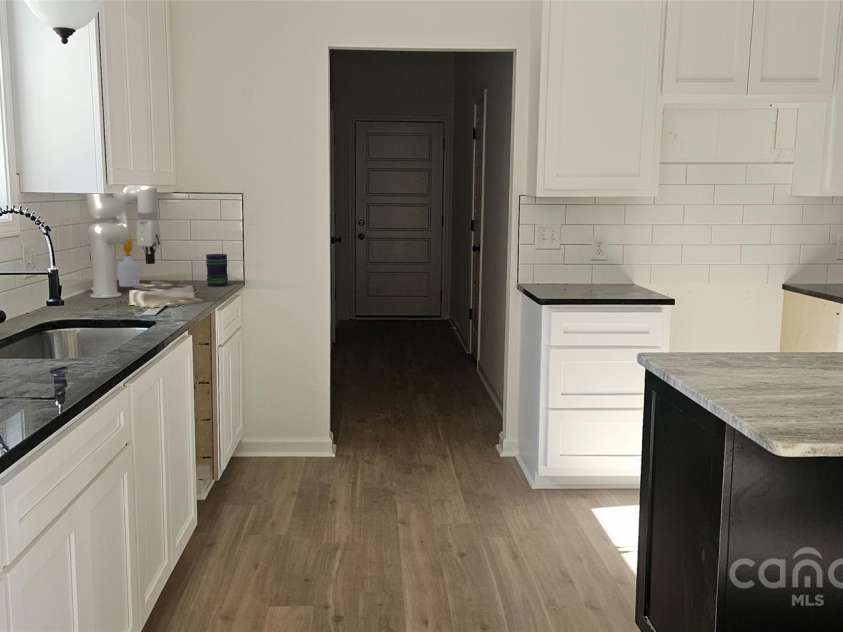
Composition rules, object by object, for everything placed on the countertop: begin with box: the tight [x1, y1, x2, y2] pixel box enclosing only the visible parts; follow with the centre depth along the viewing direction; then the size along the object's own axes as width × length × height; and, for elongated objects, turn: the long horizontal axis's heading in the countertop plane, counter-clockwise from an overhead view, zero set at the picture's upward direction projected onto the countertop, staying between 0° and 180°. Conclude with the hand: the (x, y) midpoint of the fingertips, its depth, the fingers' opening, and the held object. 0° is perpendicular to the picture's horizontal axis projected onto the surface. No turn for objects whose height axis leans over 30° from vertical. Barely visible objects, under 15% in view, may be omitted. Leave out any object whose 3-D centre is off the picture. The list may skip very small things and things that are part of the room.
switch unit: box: [128, 284, 204, 309], centre depth 348 cm, size 15×25×6 cm, turn 142°
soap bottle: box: [117, 235, 140, 288], centre depth 407 cm, size 9×9×25 cm
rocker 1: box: [132, 283, 157, 290], centre depth 342 cm, size 9×4×1 cm, turn 52°
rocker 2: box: [167, 279, 190, 286], centre depth 355 cm, size 9×4×1 cm, turn 52°
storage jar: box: [205, 253, 229, 288], centre depth 408 cm, size 10×10×15 cm
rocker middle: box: [149, 279, 174, 289], centre depth 348 cm, size 9×4×1 cm, turn 52°
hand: (150, 263), depth 340 cm, fingers closed
